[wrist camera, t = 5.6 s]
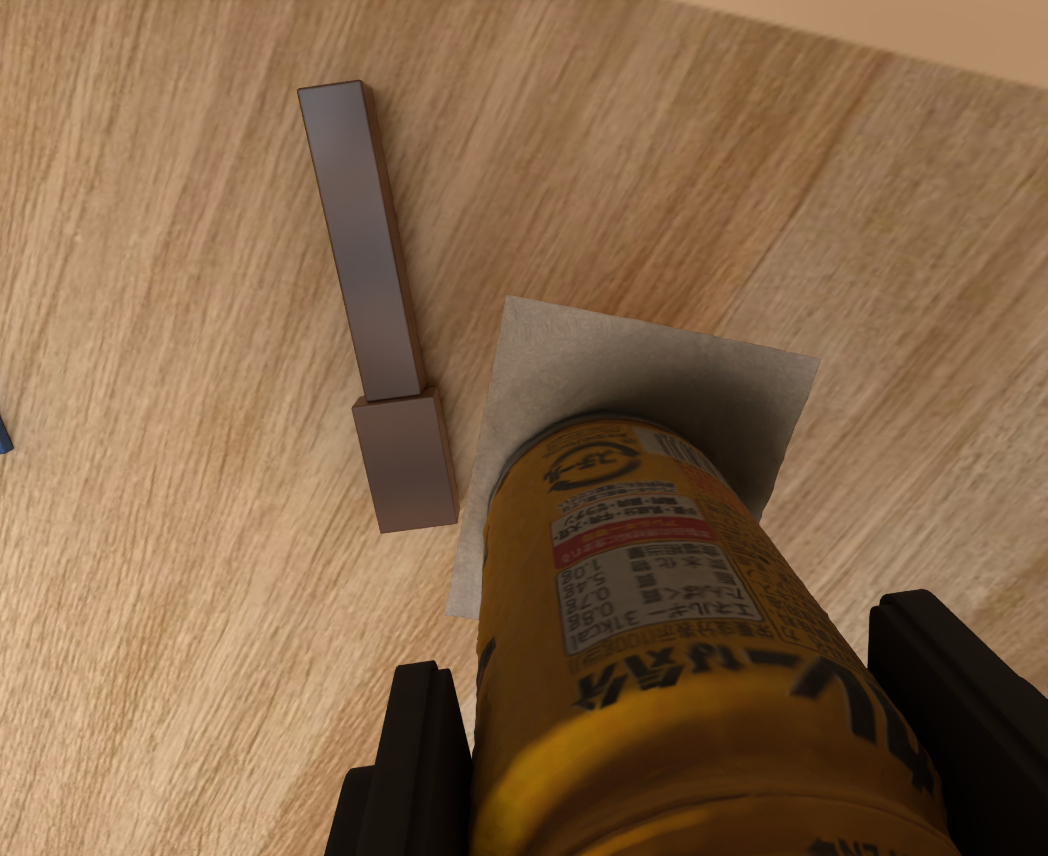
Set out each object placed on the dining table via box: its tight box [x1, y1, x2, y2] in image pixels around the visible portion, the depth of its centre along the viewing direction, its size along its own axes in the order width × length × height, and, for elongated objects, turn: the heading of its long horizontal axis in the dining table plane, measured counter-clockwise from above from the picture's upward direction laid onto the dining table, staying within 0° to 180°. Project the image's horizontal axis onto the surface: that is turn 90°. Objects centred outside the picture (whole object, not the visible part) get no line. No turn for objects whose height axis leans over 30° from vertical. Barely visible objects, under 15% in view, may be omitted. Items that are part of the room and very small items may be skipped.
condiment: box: [445, 295, 962, 856], centre depth 11 cm, size 7×8×12 cm
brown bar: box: [297, 80, 460, 534], centre depth 28 cm, size 18×4×2 cm, turn 7°
